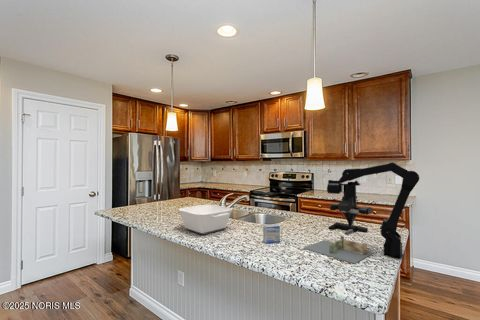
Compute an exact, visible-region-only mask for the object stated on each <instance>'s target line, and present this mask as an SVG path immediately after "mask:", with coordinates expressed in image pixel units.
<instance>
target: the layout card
mask: <svg viewBox="0 0 480 320" xmlns="http://www.w3.org/2000/svg"><path fill="white" fill-rule="evenodd" d="M330 242H332V241H331V240H326V239H323V240H320V241H318V242H315V243H313V244H310V245H307V246H305V247H303V249H304V250H306V251H311V252H314V253H316V254H320V255H324V256H327V257H330V258H334V259H337V260H340V261H342V262H345V263H346V262H347V263H350V264H352V265H356V264H358V263H360V262H361V261H363V260H365V259H367V258H369V257H370V256H372V255H373V254H374V252H373V251H368V250H367V255H364V254H362V253H359V252H355V251H351V250H348V249H344V248H341V249H339V250H337V251H335V252H333V253H330V252H329V243H330Z"/></svg>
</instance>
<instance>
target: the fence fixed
mask: <svg viewBox="0 0 480 320" xmlns="http://www.w3.org/2000/svg"><path fill="white" fill-rule="evenodd" d="M340 239H342V248H344V249H348V250H351V251H355V252H359V253H362V254H364V255H367V251H368V243H366V242H362V243H360V242H357V241H354V240H353V241H352V240H349V239H345V236H344V235H343V236H342V235H341V236H340Z"/></svg>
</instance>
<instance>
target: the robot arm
mask: <svg viewBox="0 0 480 320" xmlns="http://www.w3.org/2000/svg"><path fill="white" fill-rule="evenodd" d="M387 172H391V173H393V174H394V175H395V174H396V175H397V176H399V177H401V178H402V182H401V187H400V190H399V194H398V196H397V198H396V201H395V202H394V205H393V207H392V210H391V213H389V214H390V215H389V217H387V219H386V218H383V220H382V224H381V225H380V227H379V230H380V235H381V236H382V238H384V243H383V256H386V257H390V258H394V259H398V260H400V259H401V258H403V257H404V256H405V254H403V242H402V235H401V234H400V233H399V232H397V229H398V222H399V220H400V217H401V215H402V212H403V211H404V208H405V205H406V203H407V201H408V199H409V195H410V194H411V193H412V191H413V189H414V188H415V186H416V185H417V184H418V182H419V181H420V175H419V174H418V173H417V172H416V171H414V170H407V169H406V168H404V167H402V166H400V165H398V164H397V163H395V162H388V163H384V164H378V165H374V166H369V167H364V168H362V167H361V168H347V169H343V171H342V173H341V175H342V176H341V177H340V178H339V179H338V180H334V179H329V180H327V186H326V192H327V193H328V194H334V195H335V194H337V195H340V194H341V193H343V196H342V197H341V198H342V199H341V200H340V202H338V203H331V204H329V210H330V211H337V210H338V211H339V212H340V214H343V215H344V217H345V218H346V219H345V220H346V221H347V224H349V226H350V227H351V226H352V225H354V222H355V220H356V218H357V216H358V215H359V214H360V215H367V216H368V215H371V214H373V209H372V207H371V206H365V205H364V206H359V207H358V204H357V199H358V196H357V186H358V187H359V186H360V185H361V183H360V182H359V181H358V180H357V179H360V178H362V177H365V176H370V175H375V174H376V175H377V174H382V173H387ZM353 180H355V181H353ZM346 182H347V183H346Z"/></svg>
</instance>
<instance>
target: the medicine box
mask: <svg viewBox="0 0 480 320" xmlns="http://www.w3.org/2000/svg"><path fill="white" fill-rule="evenodd" d="M262 232H263V233H262V241H263V242H264V243H265V244H267V245H269V244H277V243H278V244H279V243H281V226H280V225H278V224H265V225H263V226H262Z"/></svg>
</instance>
